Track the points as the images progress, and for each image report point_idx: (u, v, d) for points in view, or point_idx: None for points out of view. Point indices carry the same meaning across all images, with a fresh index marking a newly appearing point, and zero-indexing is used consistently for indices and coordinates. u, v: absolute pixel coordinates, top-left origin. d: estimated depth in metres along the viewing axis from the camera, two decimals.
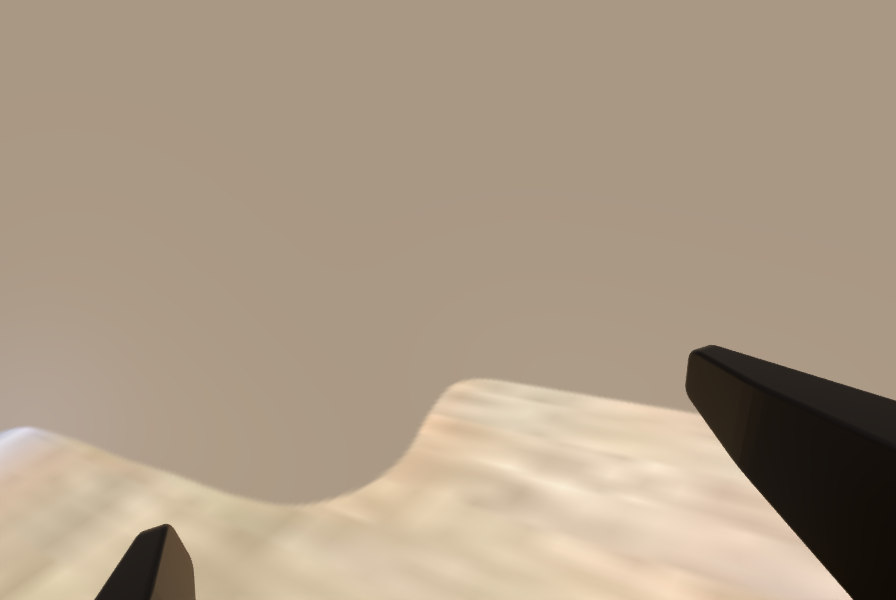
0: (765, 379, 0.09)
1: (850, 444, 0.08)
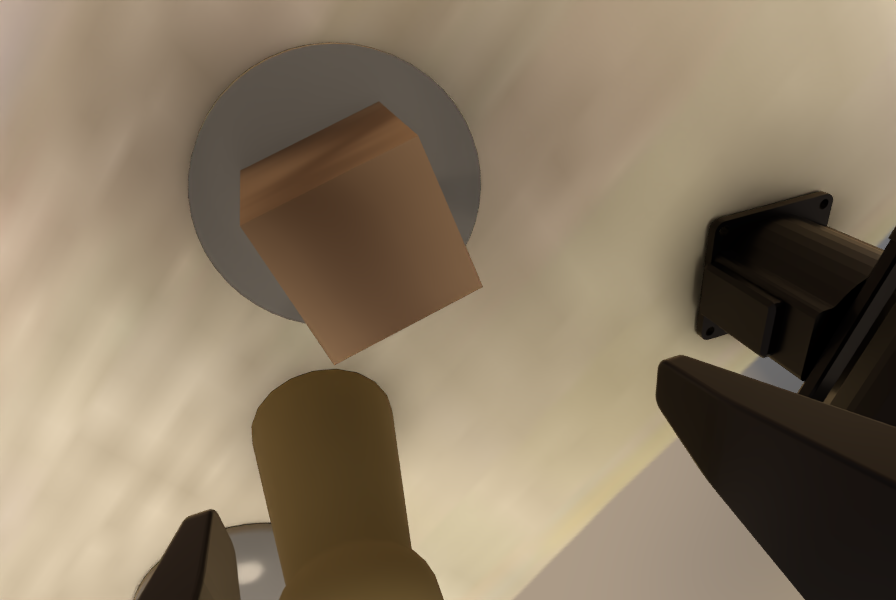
0: (730, 391, 0.09)
1: (811, 459, 0.07)
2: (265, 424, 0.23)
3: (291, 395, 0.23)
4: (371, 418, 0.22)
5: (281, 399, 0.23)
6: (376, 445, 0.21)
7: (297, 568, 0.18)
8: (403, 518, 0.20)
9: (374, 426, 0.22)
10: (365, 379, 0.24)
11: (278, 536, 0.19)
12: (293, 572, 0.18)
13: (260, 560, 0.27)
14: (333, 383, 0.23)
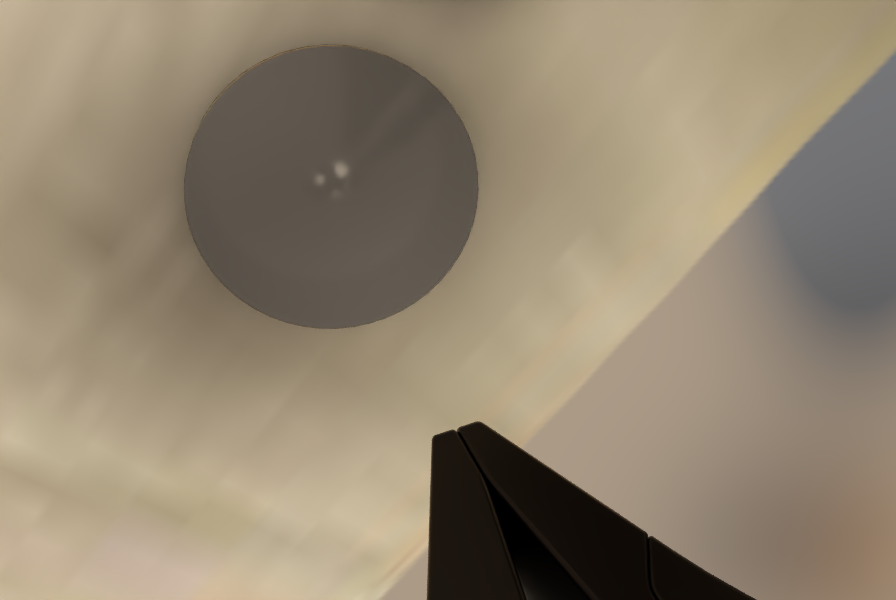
0: (501, 472, 0.08)
1: (548, 563, 0.07)
2: None
3: None
4: None
5: None
6: None
7: None
8: None
9: None
10: None
11: None
12: None
13: (368, 109, 0.19)
14: None
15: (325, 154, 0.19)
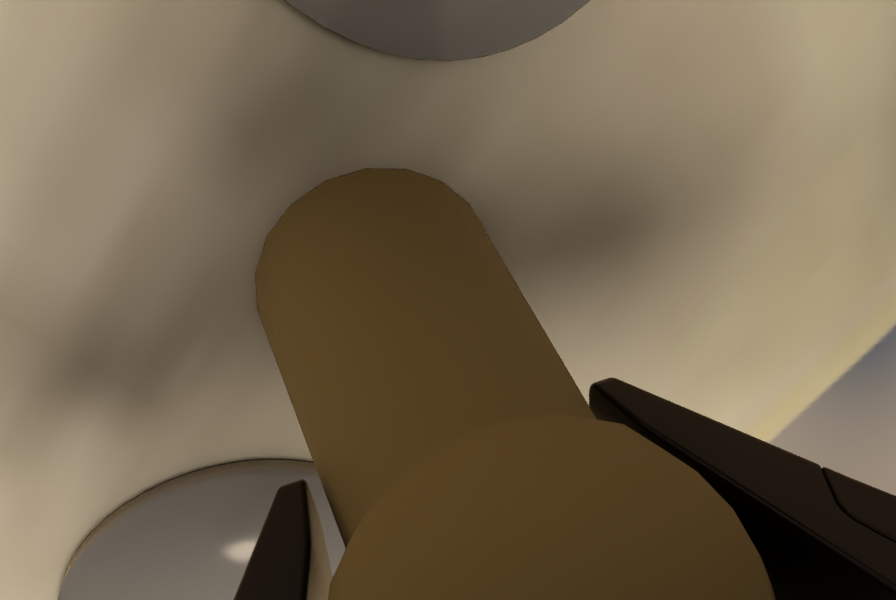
0: (653, 418, 0.08)
1: (723, 494, 0.07)
2: (282, 253, 0.12)
3: (329, 201, 0.12)
4: (481, 238, 0.12)
5: (310, 209, 0.12)
6: (502, 274, 0.11)
7: (379, 489, 0.07)
8: None
9: (489, 249, 0.12)
10: (455, 193, 0.14)
11: (320, 434, 0.09)
12: (368, 500, 0.07)
13: None
14: (405, 184, 0.13)
15: (223, 566, 0.17)
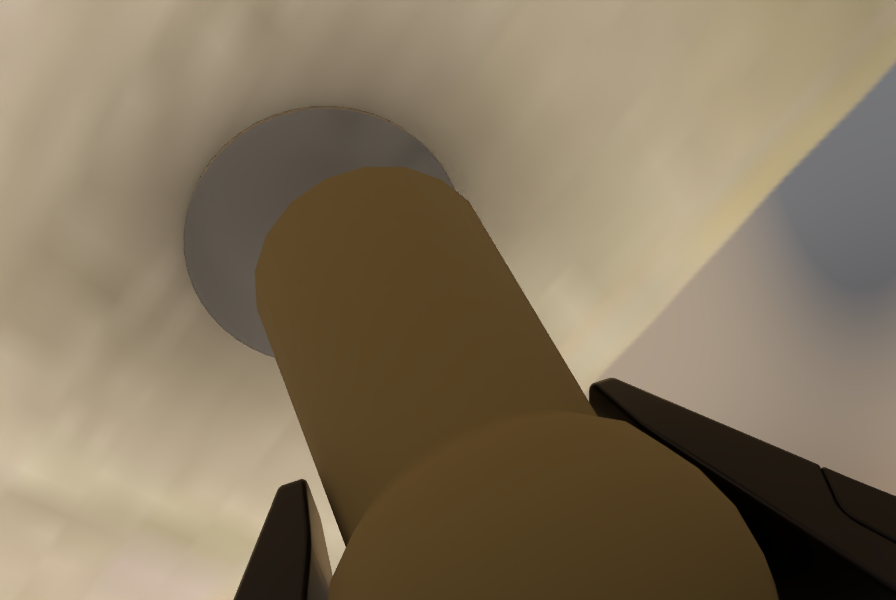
0: (653, 419, 0.08)
1: None
2: (281, 250, 0.12)
3: (329, 198, 0.12)
4: (481, 236, 0.12)
5: (310, 207, 0.12)
6: (503, 271, 0.11)
7: (379, 487, 0.07)
8: None
9: (490, 247, 0.12)
10: (455, 191, 0.14)
11: (320, 432, 0.09)
12: (368, 498, 0.07)
13: (356, 164, 0.20)
14: (405, 182, 0.13)
15: None
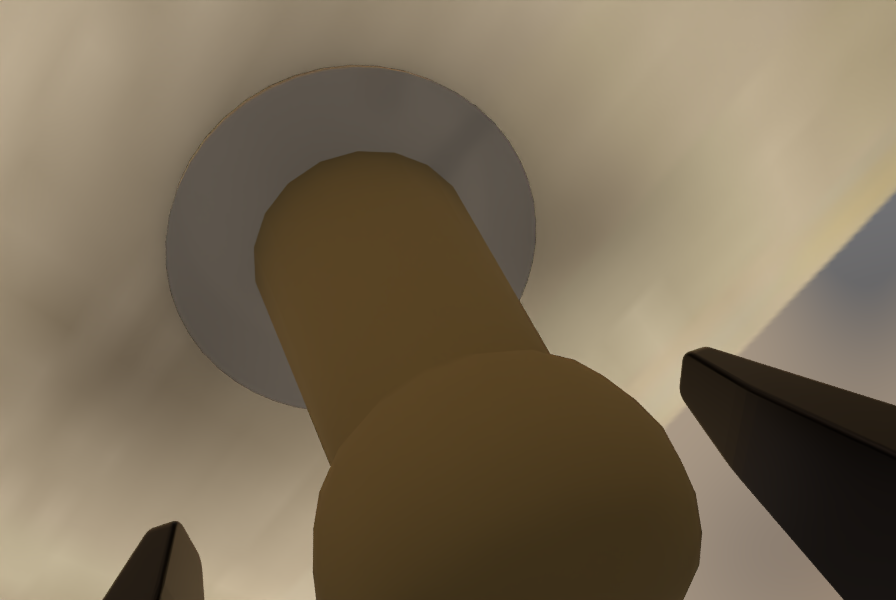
0: (758, 381, 0.09)
1: (843, 447, 0.08)
2: (279, 226, 0.13)
3: (323, 179, 0.13)
4: (462, 215, 0.13)
5: (306, 187, 0.13)
6: (480, 245, 0.12)
7: (363, 415, 0.08)
8: None
9: (469, 224, 0.13)
10: (440, 176, 0.15)
11: (313, 379, 0.10)
12: (353, 426, 0.08)
13: (404, 147, 0.14)
14: (393, 165, 0.14)
15: None
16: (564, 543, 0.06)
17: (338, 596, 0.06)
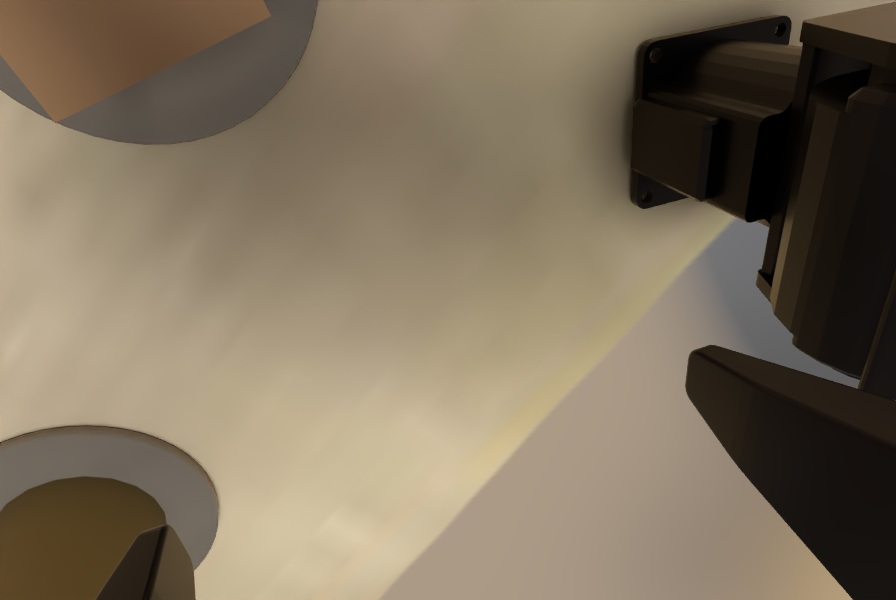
0: (765, 379, 0.09)
1: (850, 444, 0.08)
2: None
3: (20, 511, 0.21)
4: (106, 537, 0.20)
5: (10, 515, 0.21)
6: (97, 574, 0.19)
7: None
8: None
9: (106, 548, 0.20)
10: (121, 485, 0.22)
11: None
12: None
13: (90, 472, 0.22)
14: (72, 495, 0.21)
15: None
16: None
17: None
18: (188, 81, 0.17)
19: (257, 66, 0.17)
